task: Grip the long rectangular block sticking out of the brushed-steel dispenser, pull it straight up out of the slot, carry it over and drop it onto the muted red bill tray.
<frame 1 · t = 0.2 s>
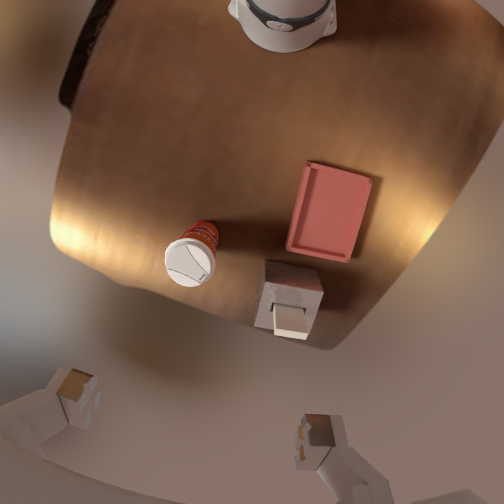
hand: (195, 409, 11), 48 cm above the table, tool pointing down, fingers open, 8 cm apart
paper cup: (203, 234, 59), on the table
tray: (327, 211, 56), on the table
dispenser: (285, 285, 62), on the table
long rectangular block: (286, 295, 58), point 4 cm above the table, touching dispenser
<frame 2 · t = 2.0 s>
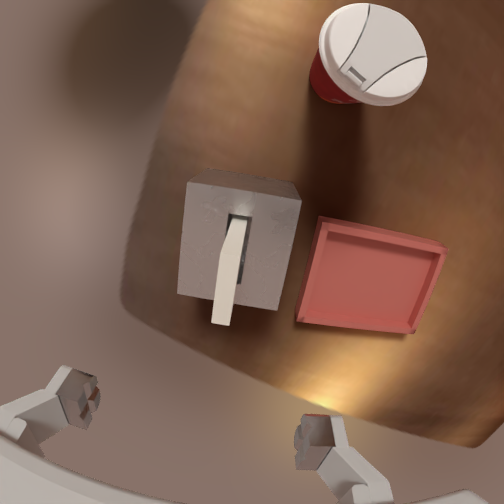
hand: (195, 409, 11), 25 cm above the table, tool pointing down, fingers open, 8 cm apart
paper cup: (335, 78, 29), on the table
tray: (370, 276, 36), on the table
dispenser: (242, 219, 35), on the table
long rectangular block: (239, 231, 31), point 4 cm above the table, touching dispenser
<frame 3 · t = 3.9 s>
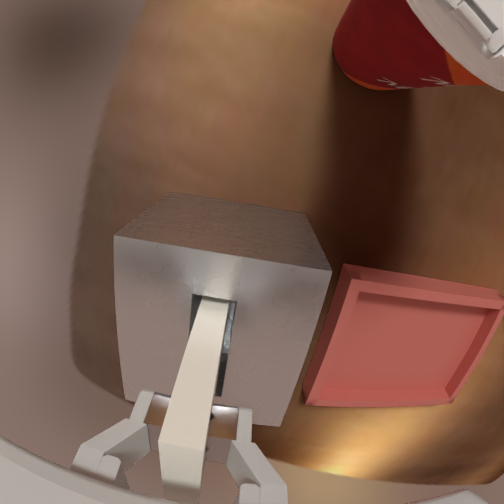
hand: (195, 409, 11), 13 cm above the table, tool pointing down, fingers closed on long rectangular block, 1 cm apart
paper cup: (372, 51, 17), on the table
tray: (406, 339, 25), on the table
dispenser: (226, 270, 23), on the table
long rectangular block: (220, 299, 19), point 4 cm above the table, touching dispenser, gripper
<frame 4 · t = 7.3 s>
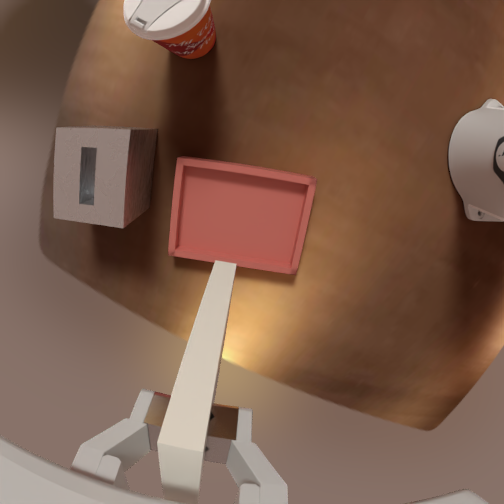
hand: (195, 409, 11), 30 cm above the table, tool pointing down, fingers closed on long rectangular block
paper cup: (193, 38, 32), on the table
tray: (240, 212, 39), on the table
dispenser: (120, 165, 37), on the table
long rectangular block: (220, 300, 19), point 22 cm above the table, touching gripper
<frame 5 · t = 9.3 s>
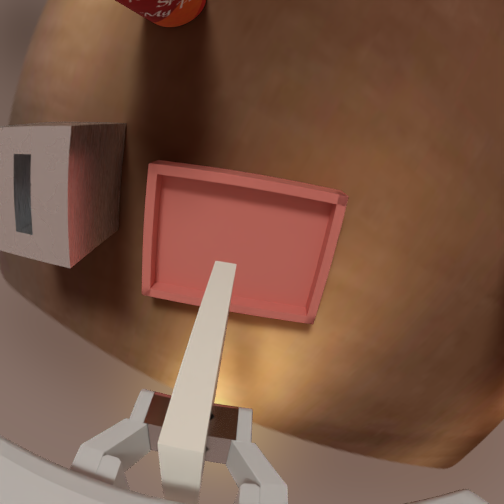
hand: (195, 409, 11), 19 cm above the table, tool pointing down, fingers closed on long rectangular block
paper cup: (176, 1, 21), on the table
tray: (238, 239, 29), on the table
dispenser: (81, 173, 27), on the table
long rectangular block: (220, 300, 19), point 10 cm above the table, touching gripper
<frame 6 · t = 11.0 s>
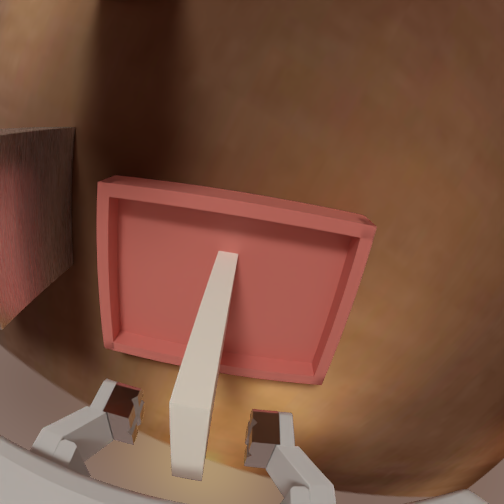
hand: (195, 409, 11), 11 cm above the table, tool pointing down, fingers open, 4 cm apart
tray: (224, 280, 21), on the table
dispenser: (26, 193, 19), on the table
long rectangular block: (223, 288, 20), point 1 cm above the table, touching tray
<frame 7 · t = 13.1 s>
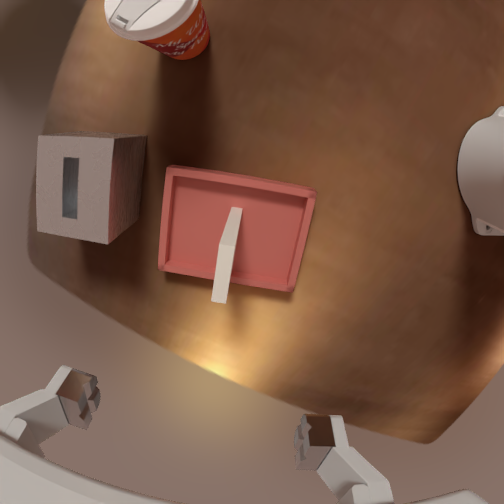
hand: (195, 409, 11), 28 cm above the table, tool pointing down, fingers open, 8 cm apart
paper cup: (186, 38, 29), on the table
tray: (234, 225, 37), on the table
dispenser: (108, 173, 35), on the table
long rectangular block: (233, 228, 36), point 1 cm above the table, touching tray
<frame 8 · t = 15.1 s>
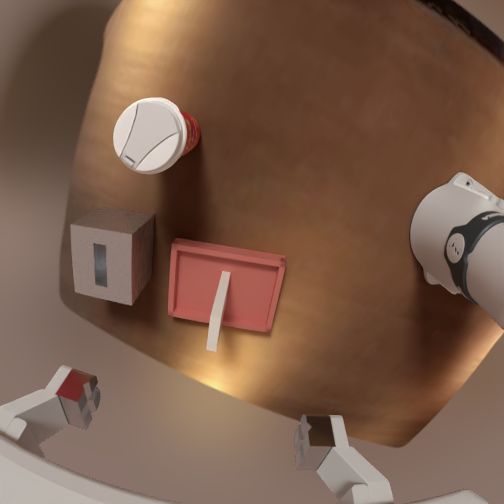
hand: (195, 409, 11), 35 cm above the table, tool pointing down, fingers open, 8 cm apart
paper cup: (181, 132, 40), on the table
tray: (224, 283, 48), on the table
dispenser: (125, 241, 46), on the table
long rectangular block: (224, 286, 47), point 1 cm above the table, touching tray
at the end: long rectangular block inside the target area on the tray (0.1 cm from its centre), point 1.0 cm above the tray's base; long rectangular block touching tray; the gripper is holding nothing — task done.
